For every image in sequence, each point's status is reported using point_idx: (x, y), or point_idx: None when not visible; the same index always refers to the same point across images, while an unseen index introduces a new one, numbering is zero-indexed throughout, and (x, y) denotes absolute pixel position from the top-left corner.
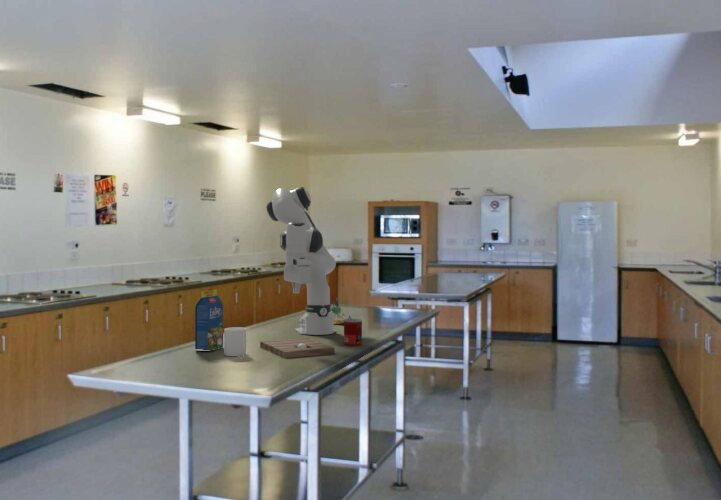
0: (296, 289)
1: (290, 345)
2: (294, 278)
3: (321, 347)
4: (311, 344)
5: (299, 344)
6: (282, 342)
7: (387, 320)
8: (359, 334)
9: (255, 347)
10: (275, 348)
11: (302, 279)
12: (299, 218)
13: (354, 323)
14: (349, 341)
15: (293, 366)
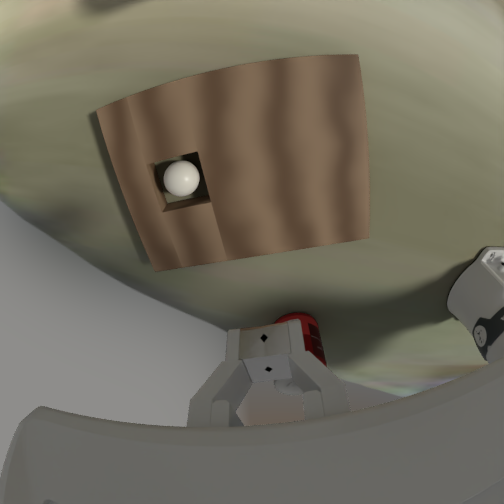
0: (227, 364)
1: (223, 143)
2: (180, 476)
3: (161, 238)
4: (227, 221)
5: (174, 173)
6: (307, 128)
7: None
8: None
9: (353, 40)
10: (176, 80)
11: (16, 434)
12: None
13: None
14: None
15: (13, 136)
